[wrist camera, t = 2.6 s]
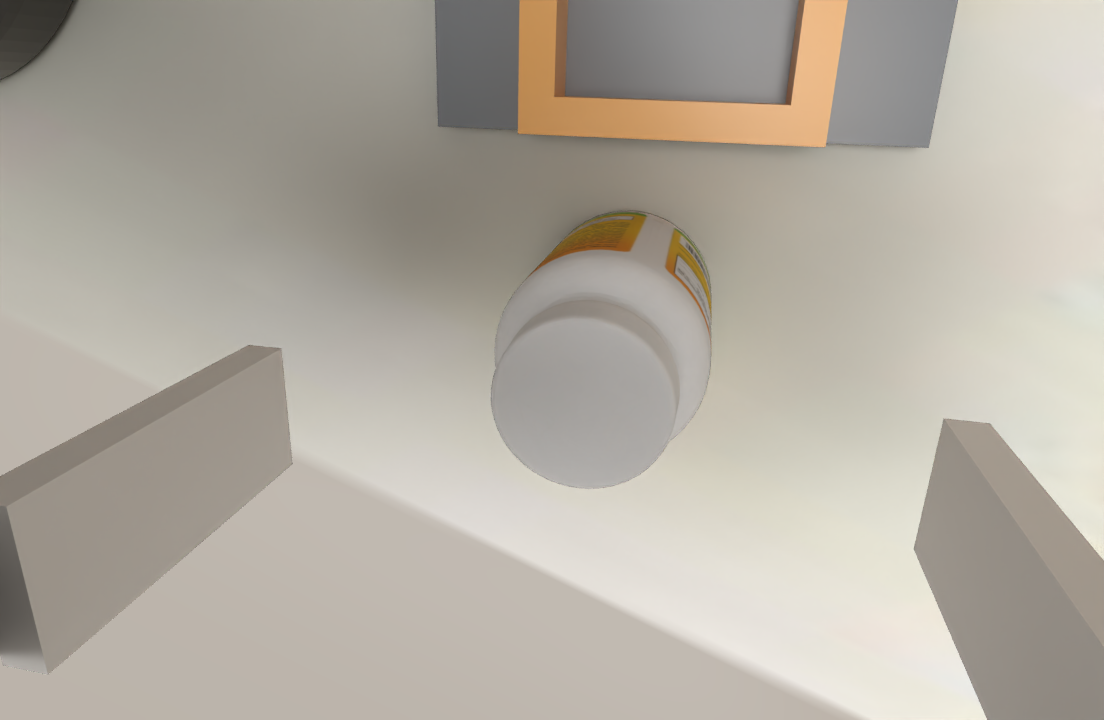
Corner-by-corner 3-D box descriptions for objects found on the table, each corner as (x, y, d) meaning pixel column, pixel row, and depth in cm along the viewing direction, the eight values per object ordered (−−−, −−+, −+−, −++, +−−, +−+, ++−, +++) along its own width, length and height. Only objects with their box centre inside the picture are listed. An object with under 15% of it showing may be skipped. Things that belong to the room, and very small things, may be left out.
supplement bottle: (523, 324, 26) (424, 453, 17) (587, 180, 24) (510, 237, 15) (665, 392, 26) (640, 558, 17) (742, 252, 23) (761, 356, 14)
